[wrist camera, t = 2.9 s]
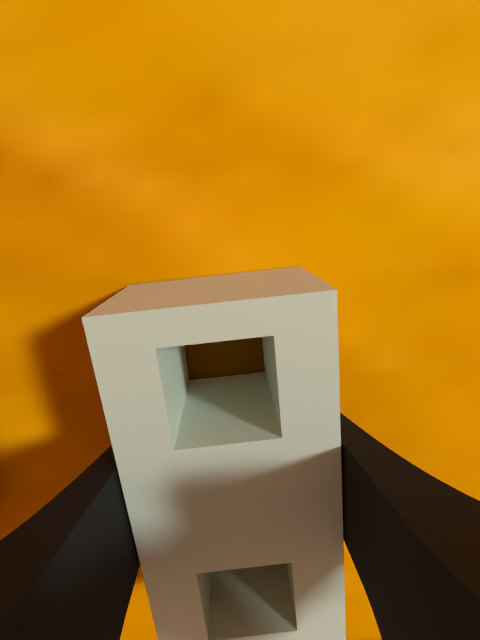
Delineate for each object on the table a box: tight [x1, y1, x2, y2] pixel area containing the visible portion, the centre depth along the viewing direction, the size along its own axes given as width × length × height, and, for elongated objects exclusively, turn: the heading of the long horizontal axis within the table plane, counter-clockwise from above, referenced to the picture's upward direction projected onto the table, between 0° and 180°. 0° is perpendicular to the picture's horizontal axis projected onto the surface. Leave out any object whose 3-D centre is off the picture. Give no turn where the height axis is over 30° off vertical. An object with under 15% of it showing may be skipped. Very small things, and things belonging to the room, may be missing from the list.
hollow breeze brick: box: [81, 266, 346, 640], centre depth 10 cm, size 10×5×4 cm, turn 6°
